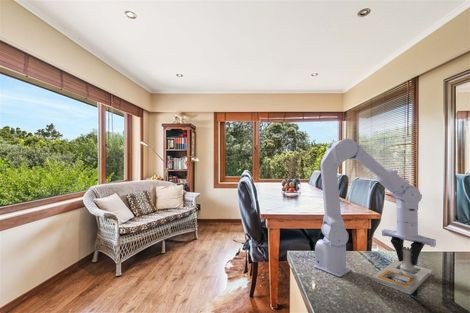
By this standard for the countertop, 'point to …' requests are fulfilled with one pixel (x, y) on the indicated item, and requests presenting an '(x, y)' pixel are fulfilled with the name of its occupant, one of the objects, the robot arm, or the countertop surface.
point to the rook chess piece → (407, 261)
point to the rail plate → (401, 277)
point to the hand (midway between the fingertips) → (407, 262)
